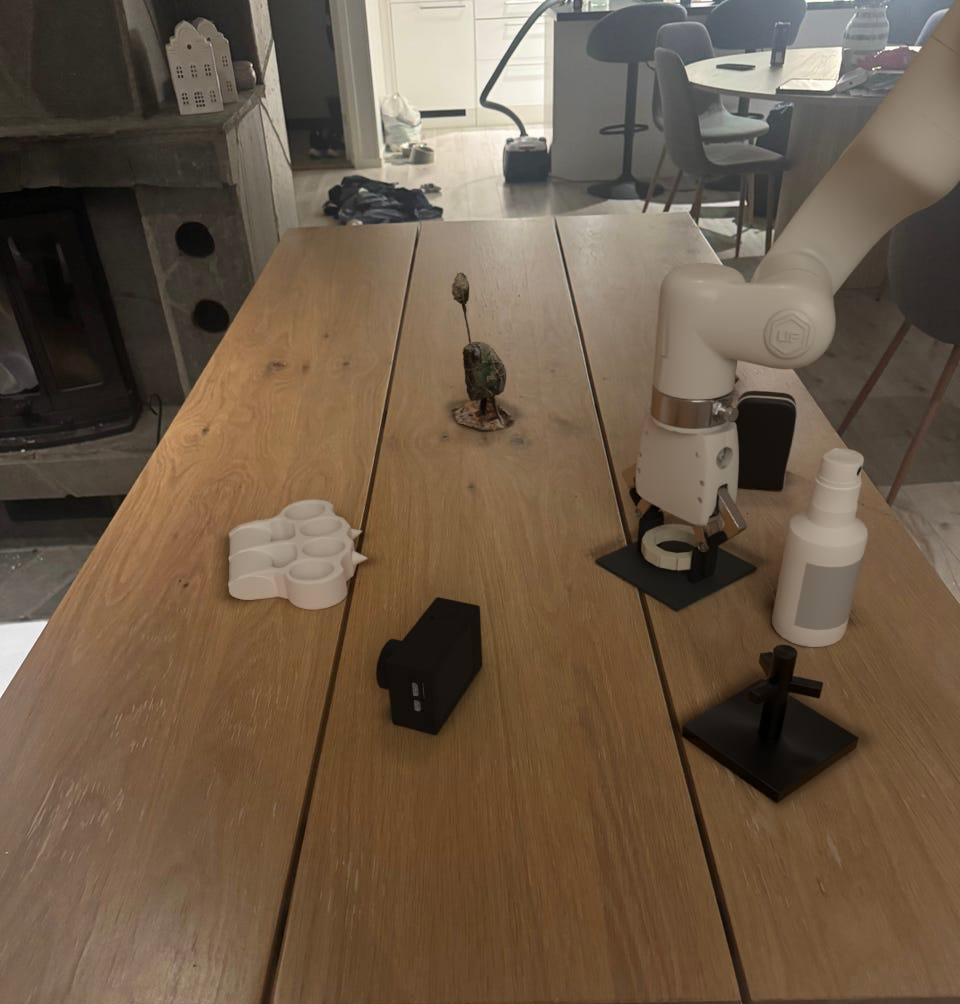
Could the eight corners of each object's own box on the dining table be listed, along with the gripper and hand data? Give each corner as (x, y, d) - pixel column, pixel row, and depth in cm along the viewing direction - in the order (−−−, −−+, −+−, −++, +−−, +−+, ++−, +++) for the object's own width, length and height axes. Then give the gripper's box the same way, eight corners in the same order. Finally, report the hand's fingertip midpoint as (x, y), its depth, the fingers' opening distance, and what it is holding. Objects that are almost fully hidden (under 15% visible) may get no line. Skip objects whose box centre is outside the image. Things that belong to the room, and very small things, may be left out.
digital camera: (430, 653, 91) (425, 592, 87) (482, 665, 89) (480, 603, 85) (379, 721, 83) (371, 658, 79) (436, 736, 82) (430, 672, 77)
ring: (674, 528, 105) (675, 517, 104) (723, 554, 100) (725, 543, 99) (628, 550, 101) (628, 538, 101) (676, 577, 97) (677, 566, 96)
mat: (673, 526, 109) (673, 523, 108) (757, 570, 101) (757, 566, 100) (594, 562, 103) (595, 559, 103) (676, 611, 95) (677, 608, 95)
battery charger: (784, 479, 117) (800, 389, 110) (784, 493, 114) (800, 402, 107) (726, 474, 119) (737, 385, 112) (724, 488, 116) (736, 397, 109)
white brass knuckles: (232, 534, 111) (359, 518, 113) (232, 622, 96) (376, 602, 98) (227, 508, 109) (356, 493, 111) (225, 594, 94) (373, 574, 96)
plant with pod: (462, 443, 128) (455, 291, 116) (449, 410, 137) (441, 266, 125) (521, 436, 129) (520, 285, 117) (504, 404, 138) (501, 260, 126)
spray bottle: (824, 658, 88) (863, 482, 78) (757, 630, 92) (786, 459, 82) (857, 624, 92) (899, 453, 82) (792, 599, 96) (824, 432, 85)
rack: (760, 688, 85) (776, 599, 80) (856, 748, 79) (881, 656, 73) (681, 736, 81) (692, 645, 75) (776, 804, 74) (796, 710, 68)
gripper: (790, 421, 87) (762, 585, 98) (653, 368, 99) (642, 520, 109) (735, 444, 84) (712, 612, 94) (599, 387, 95) (593, 542, 106)
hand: (674, 561), depth 102 cm, fingers closed on ring, 6 cm apart
